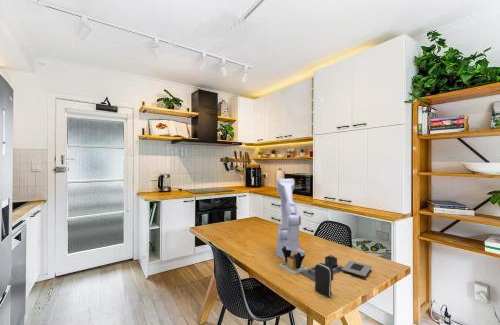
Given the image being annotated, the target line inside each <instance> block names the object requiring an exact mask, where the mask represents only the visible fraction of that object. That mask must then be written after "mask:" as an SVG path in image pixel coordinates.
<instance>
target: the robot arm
mask: <svg viewBox="0 0 500 325" xmlns="http://www.w3.org/2000/svg"><path fill="white" fill-rule="evenodd" d="M295 182H296V181H295V179H294V178H280V177H279V178H277V179H276V193H277V194H279V197H280V207H281V208H280V209H281V223H280V224H279V225H278V226H277V231H276V232H277V236H276V237H277V241H276V248H275V249H276V253H275V255H276V256H278V257H279V258H282V260H285V262H286V263H287V257H290V256H292V255H294V257H295V260H296V269H299V268H300V267H301V265H302V264H303V261H304V258H305V257H306V251H305V250H304V249H302V248H301V247H300V226H301V225H302V218H301V214H300V213H299V212H298V208H297V203H296V202H295V201H294V197H293V196H294V194H293V192H294V189H295V185H296V183H295ZM294 253H296V254H294Z"/></svg>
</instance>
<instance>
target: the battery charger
mask: <svg viewBox="0 0 500 325" xmlns="http://www.w3.org/2000/svg"><path fill="white" fill-rule="evenodd" d="M332 281H334V274H333V269H332V268H331V267H330V266H328V265H325V264H324V263H323V262H319V263H317V264H315V281H314V282H315V283H314V290H315V291H316V292H317V293H318V294H320V295H323V296H325V297H326V298H330V297H331V296H332V295H333V294H332Z"/></svg>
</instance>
